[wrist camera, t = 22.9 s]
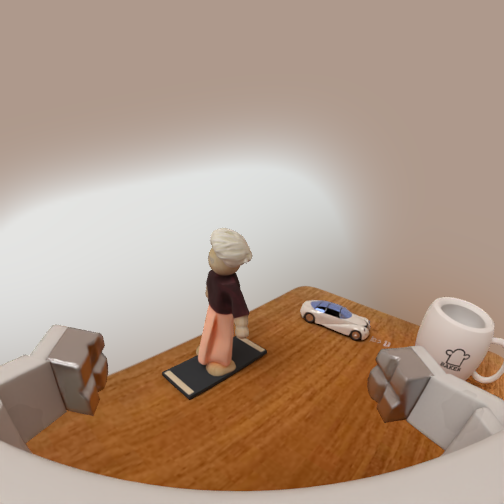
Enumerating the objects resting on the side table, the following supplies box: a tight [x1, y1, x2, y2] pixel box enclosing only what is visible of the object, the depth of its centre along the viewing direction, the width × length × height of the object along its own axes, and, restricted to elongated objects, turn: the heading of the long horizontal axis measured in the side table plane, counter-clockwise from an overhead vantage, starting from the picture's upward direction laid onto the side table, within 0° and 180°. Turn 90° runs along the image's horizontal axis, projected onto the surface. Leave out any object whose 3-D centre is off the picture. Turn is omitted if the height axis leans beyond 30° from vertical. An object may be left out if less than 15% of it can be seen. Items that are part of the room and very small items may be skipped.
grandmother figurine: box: [196, 228, 252, 376], centre depth 25 cm, size 8×4×13 cm, turn 38°
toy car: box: [301, 300, 391, 347], centre depth 36 cm, size 4×12×3 cm, turn 56°
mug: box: [415, 297, 504, 383], centre depth 26 cm, size 12×8×8 cm
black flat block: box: [162, 336, 267, 400], centre depth 28 cm, size 10×4×1 cm, turn 139°
